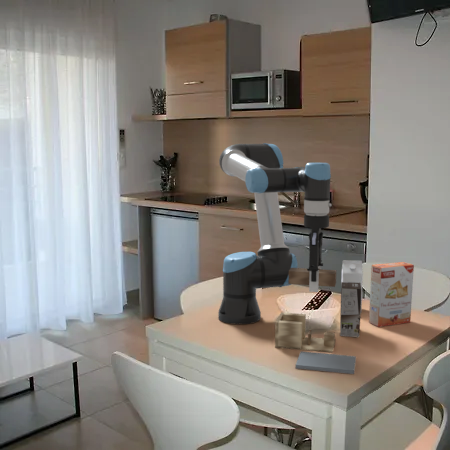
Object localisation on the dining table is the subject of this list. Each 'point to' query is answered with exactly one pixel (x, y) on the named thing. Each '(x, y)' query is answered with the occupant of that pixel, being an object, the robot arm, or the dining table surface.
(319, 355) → the mat
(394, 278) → the cracker box
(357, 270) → the milk carton
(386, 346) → the dining table surface
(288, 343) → the holder
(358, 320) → the coffee box
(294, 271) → the bar
